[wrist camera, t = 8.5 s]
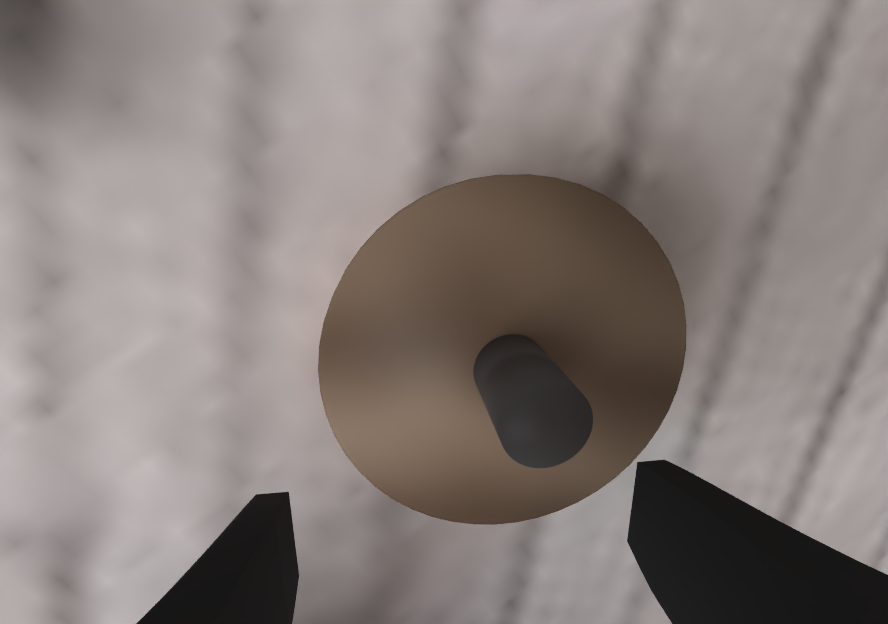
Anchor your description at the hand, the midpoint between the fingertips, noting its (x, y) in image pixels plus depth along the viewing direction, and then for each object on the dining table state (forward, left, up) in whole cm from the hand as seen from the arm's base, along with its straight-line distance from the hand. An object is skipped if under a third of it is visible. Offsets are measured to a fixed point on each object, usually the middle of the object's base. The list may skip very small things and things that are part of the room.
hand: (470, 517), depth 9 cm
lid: (+1, -2, -6) cm, 7 cm away
